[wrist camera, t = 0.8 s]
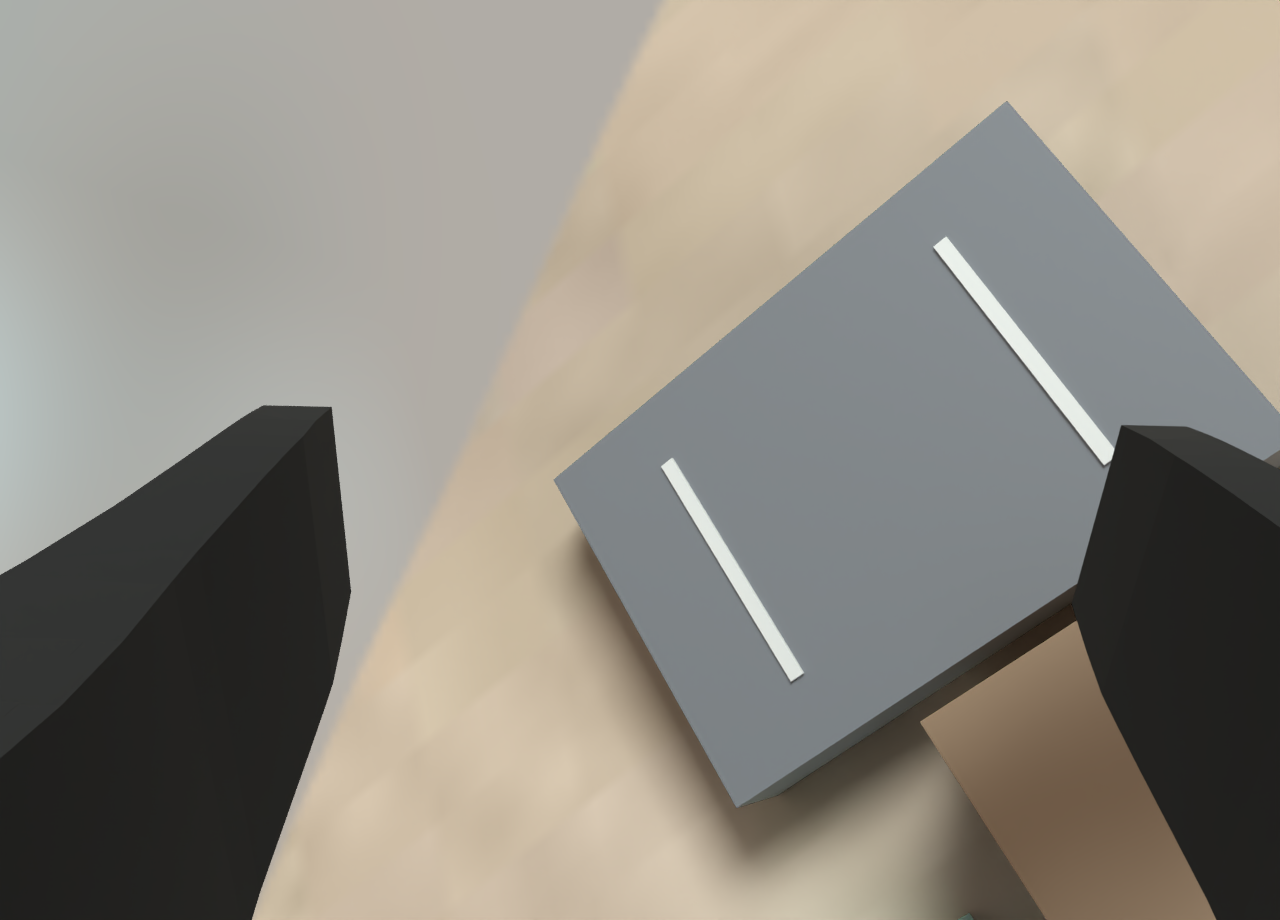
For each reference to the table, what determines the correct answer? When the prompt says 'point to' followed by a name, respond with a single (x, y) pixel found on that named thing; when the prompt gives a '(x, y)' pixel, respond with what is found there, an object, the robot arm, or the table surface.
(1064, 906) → the walnut cube
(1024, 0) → the table surface
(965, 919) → the teal cube
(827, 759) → the board
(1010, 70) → the table surface
